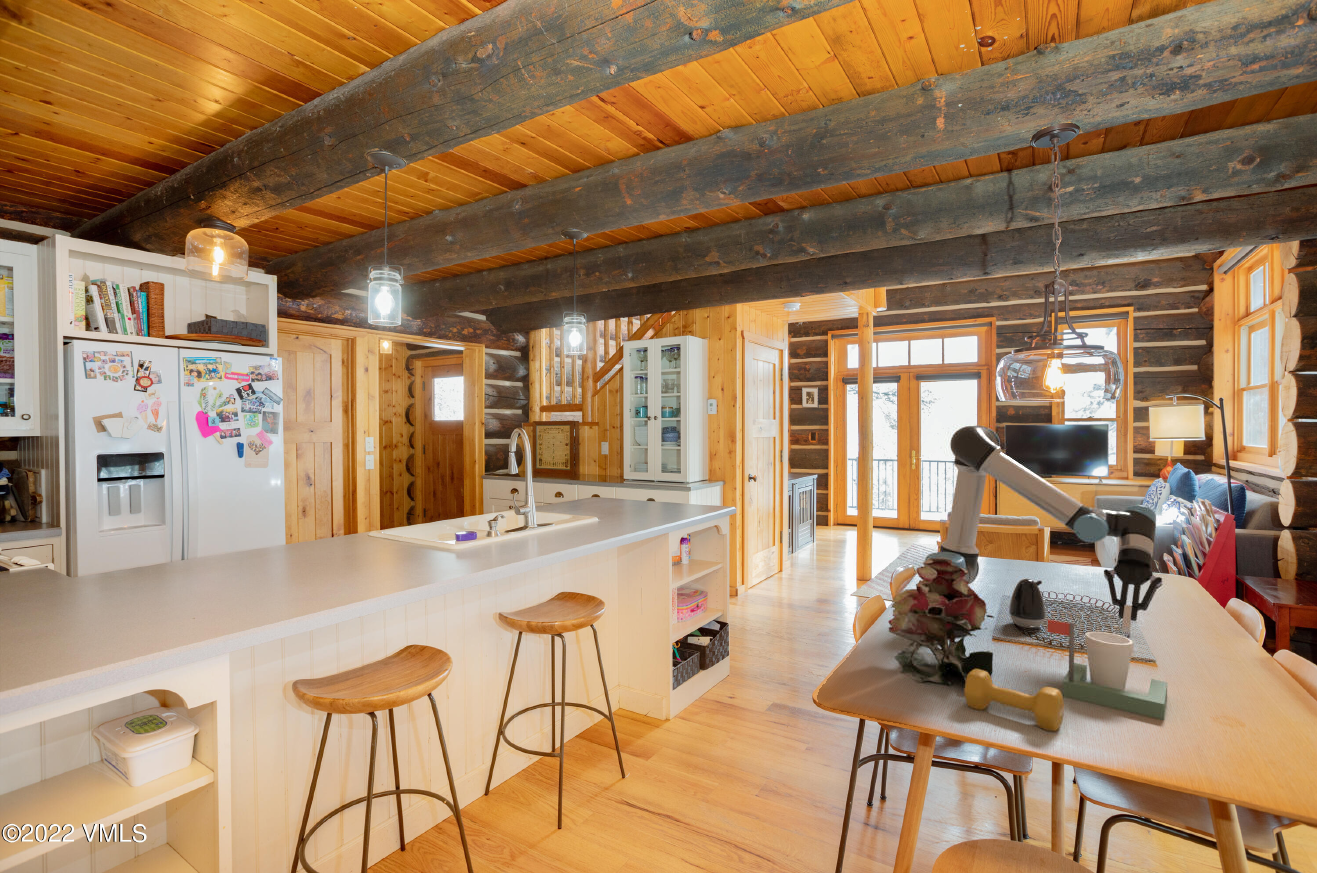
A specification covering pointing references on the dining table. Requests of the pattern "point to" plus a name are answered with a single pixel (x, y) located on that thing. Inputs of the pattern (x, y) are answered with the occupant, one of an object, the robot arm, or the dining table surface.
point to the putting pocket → (1104, 695)
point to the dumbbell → (1015, 699)
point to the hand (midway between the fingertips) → (1125, 629)
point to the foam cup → (1108, 658)
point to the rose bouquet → (939, 623)
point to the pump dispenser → (1027, 604)
